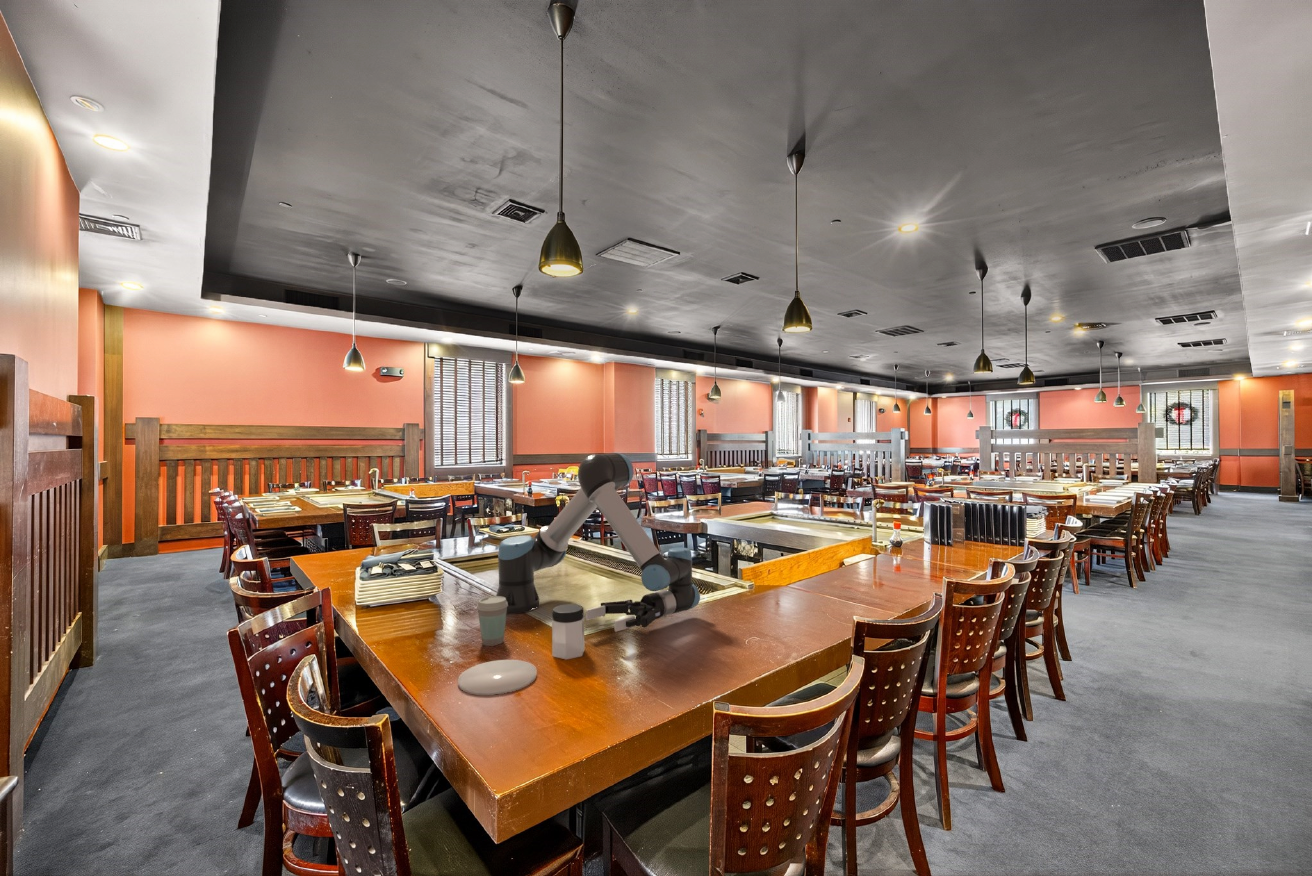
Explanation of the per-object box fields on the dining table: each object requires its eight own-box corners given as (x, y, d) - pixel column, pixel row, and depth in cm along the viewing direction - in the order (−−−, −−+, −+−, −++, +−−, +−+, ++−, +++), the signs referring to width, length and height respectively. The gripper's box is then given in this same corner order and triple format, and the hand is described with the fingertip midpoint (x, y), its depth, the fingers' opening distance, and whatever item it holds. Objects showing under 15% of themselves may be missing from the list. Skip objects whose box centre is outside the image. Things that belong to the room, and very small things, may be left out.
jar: (556, 647, 155) (555, 603, 155) (586, 647, 155) (585, 603, 155) (549, 660, 146) (549, 613, 146) (581, 659, 146) (580, 613, 146)
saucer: (446, 677, 136) (446, 673, 136) (514, 658, 148) (514, 654, 148) (478, 703, 123) (478, 698, 123) (550, 679, 135) (550, 674, 135)
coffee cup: (493, 635, 166) (493, 594, 166) (514, 640, 162) (514, 597, 162) (470, 644, 159) (469, 601, 159) (492, 649, 154) (491, 605, 154)
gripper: (686, 627, 162) (628, 645, 148) (631, 608, 181) (575, 623, 167) (686, 600, 162) (628, 617, 148) (631, 585, 181) (575, 598, 167)
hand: (600, 620), depth 158 cm, fingers open, 13 cm apart
